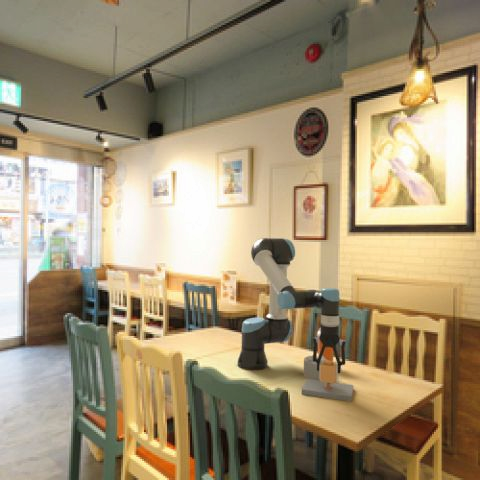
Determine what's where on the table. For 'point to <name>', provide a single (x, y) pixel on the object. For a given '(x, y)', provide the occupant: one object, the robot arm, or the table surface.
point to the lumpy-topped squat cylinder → (312, 367)
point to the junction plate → (328, 390)
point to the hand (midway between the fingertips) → (328, 379)
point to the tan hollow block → (328, 372)
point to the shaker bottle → (328, 350)
